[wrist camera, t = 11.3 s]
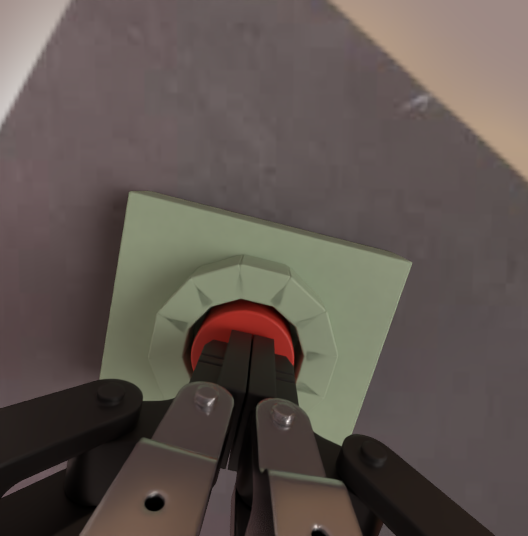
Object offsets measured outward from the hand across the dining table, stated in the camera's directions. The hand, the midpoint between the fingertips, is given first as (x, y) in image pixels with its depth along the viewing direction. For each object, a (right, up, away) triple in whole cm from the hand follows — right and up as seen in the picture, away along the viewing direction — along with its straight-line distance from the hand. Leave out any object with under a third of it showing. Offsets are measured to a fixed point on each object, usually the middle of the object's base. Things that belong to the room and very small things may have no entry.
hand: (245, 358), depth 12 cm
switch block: (0, +1, +4) cm, 4 cm away
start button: (0, 0, +2) cm, 2 cm away
